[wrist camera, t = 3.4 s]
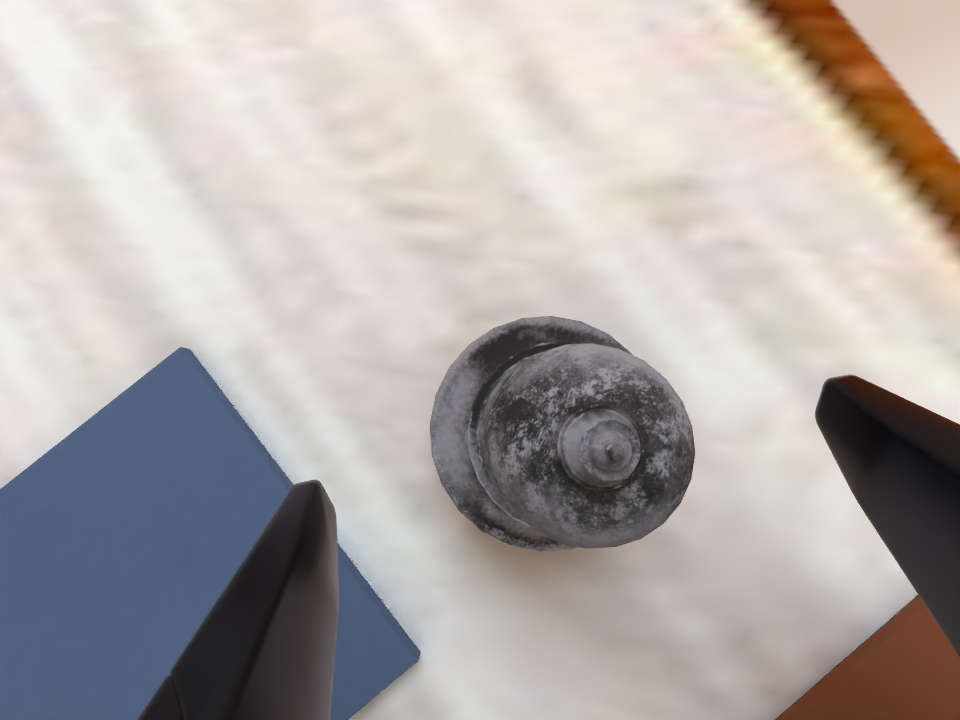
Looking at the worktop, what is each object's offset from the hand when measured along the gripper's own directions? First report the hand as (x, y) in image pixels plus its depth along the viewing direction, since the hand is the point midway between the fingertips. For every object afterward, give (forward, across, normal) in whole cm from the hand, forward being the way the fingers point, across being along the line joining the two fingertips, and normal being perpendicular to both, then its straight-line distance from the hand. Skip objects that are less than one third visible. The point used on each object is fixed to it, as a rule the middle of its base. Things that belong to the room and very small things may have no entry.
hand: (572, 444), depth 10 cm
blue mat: (+3, +13, +8) cm, 15 cm away
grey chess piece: (+6, 0, +6) cm, 8 cm away
